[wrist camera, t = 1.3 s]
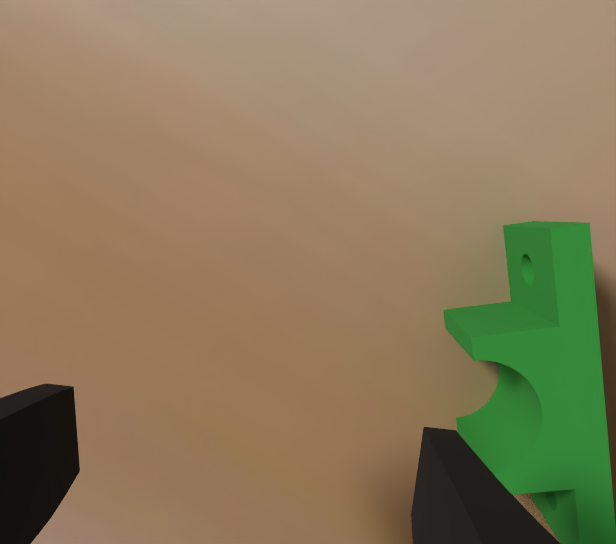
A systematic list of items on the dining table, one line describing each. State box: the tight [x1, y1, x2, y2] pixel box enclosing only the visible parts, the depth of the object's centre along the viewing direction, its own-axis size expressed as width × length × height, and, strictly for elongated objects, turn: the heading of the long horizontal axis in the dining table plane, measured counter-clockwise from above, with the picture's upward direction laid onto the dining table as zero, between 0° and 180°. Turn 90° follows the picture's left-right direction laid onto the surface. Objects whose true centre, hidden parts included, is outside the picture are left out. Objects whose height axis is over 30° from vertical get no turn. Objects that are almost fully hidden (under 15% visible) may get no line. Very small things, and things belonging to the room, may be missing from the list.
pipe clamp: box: [444, 221, 616, 544], centre depth 17 cm, size 11×4×5 cm, turn 8°
